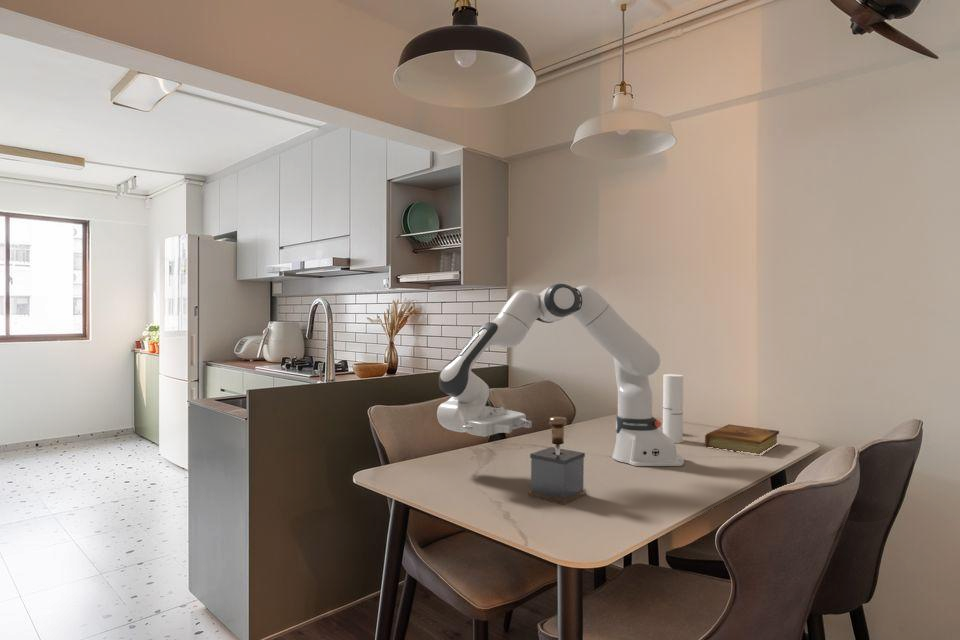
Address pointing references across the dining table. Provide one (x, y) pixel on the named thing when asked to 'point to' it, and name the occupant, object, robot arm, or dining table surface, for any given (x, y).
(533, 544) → the dining table surface
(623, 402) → the robot arm
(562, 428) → the plunger
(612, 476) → the dining table surface
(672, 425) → the cylindrical container
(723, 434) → the diary
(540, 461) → the grey box
